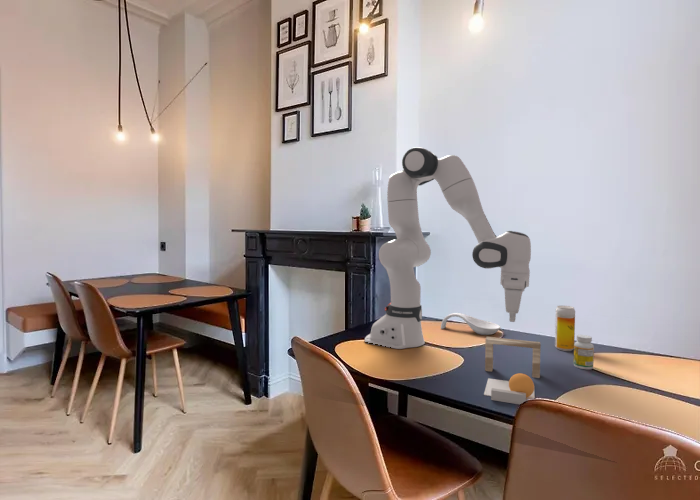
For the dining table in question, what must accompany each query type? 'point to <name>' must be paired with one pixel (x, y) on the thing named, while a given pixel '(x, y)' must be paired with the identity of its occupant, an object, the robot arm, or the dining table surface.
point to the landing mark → (500, 387)
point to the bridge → (512, 342)
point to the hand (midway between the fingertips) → (512, 320)
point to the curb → (508, 396)
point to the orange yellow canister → (565, 328)
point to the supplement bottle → (583, 352)
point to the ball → (521, 384)
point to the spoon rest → (474, 324)
